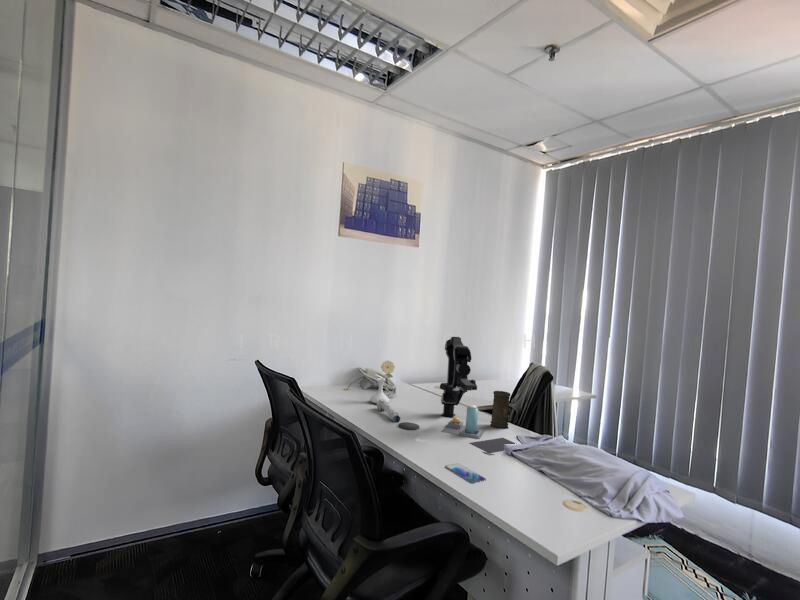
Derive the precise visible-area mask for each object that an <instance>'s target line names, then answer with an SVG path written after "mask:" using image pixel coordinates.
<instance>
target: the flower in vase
mask: <svg viewBox="0 0 800 600" xmlns="http://www.w3.org/2000/svg"><path fill="white" fill-rule="evenodd" d="M380 369H381V371H382V372H383V373H384V375H382V374H380V373H378V376H380V378H379V377H378V378H376V380H377V383H378V389H377V390H378V391H377V392H376V393H375V394H373V395H371V396H370V398H369V401H370V402H372V403H374V404H377V403H379V399H385V401H386V403H387V404H388V403H390V398H389V396H387V395H386V394H385V393H384V392H383V388H384V383H385V381H386V378H389V379H390V378H393V375H392V374H391V373H394V370H395V369H396V366H395V364H394V362H393V361H391V360H389V359H388V360H385V361H383V362H382V363H381V365H380ZM385 377H386V378H385Z"/></svg>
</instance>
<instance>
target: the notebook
mask: <svg viewBox="0 0 800 600" xmlns="http://www.w3.org/2000/svg"><path fill="white" fill-rule="evenodd" d="M515 443H516V442H514V441H512V440H509V439H508V438H504V437H499V438H493V439H486V440H478V441H473V442H469V443H468V444H469V445H471V446H474V447H476V448H478V449H479V450H481V451H482V454H485V455H487V456H495V455H496V454H494V453H500V452H505V450H504V448H503V446H504V444H515Z"/></svg>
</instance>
